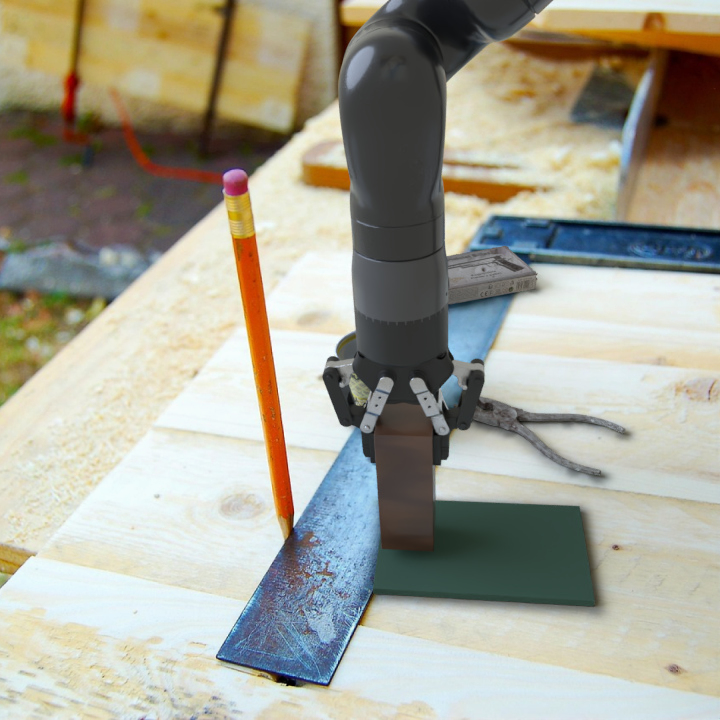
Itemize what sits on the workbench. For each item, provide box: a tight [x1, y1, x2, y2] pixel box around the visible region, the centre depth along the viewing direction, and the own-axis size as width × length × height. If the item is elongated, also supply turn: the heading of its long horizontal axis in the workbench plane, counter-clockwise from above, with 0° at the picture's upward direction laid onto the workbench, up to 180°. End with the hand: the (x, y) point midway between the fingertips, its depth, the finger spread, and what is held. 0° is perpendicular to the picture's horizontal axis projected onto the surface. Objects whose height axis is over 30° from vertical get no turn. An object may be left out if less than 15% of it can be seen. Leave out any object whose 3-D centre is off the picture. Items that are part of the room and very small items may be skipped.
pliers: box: [452, 395, 626, 476], centre depth 89 cm, size 10×1×20 cm
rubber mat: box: [372, 499, 596, 607], centre depth 75 cm, size 20×12×1 cm, turn 83°
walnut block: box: [374, 403, 437, 551], centre depth 71 cm, size 5×5×14 cm
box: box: [446, 245, 539, 305], centre depth 120 cm, size 11×17×3 cm, turn 108°
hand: (406, 457), depth 70 cm, fingers closed on walnut block, 5 cm apart
